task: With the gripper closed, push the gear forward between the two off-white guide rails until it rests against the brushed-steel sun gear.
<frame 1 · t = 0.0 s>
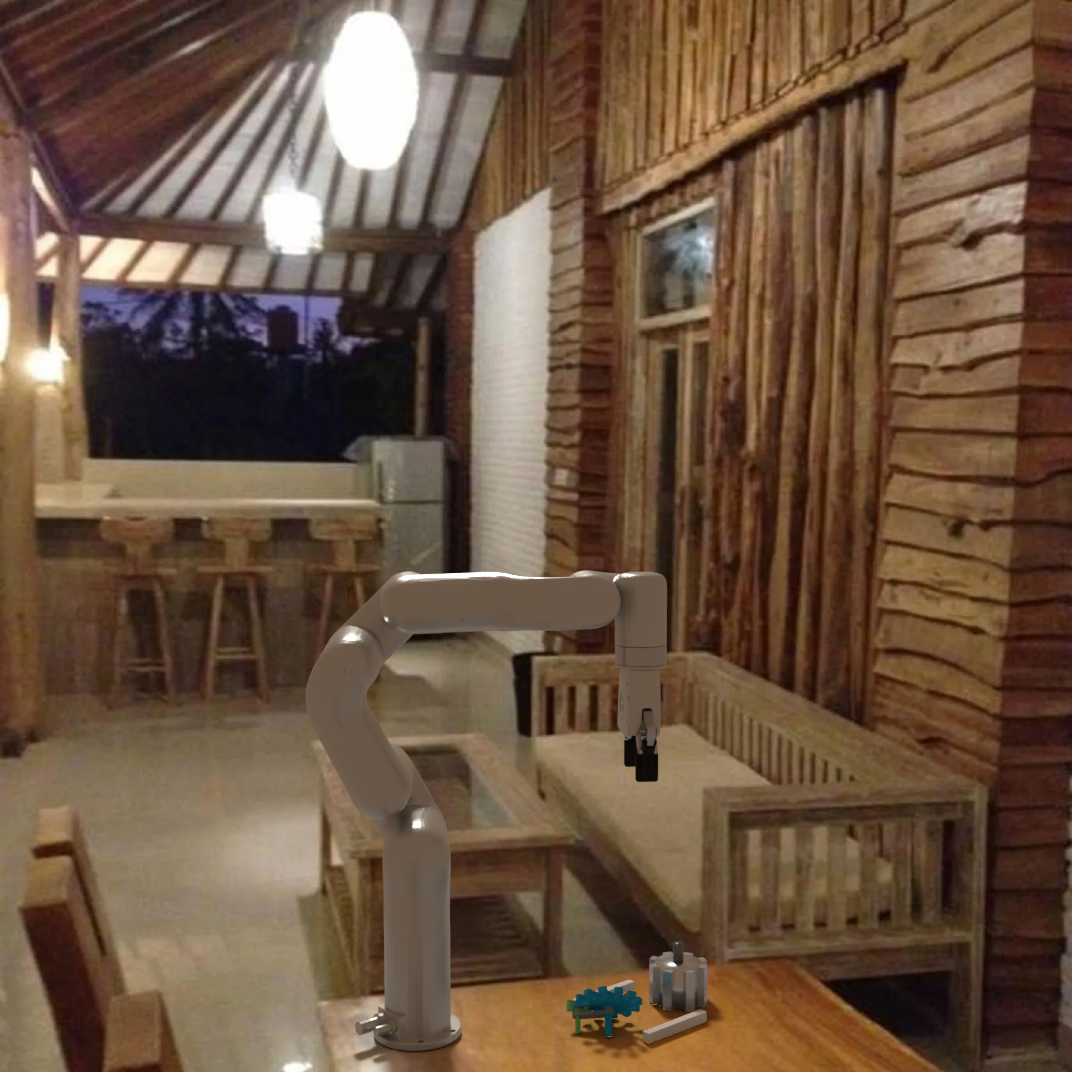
hand: (640, 773, 193), 37 cm above the table, tool pointing down, fingers open, 9 cm apart
gear: (604, 1029, 194), on the table
guide rails: (638, 1015, 198), on the table
sun gear: (678, 1000, 204), on the table
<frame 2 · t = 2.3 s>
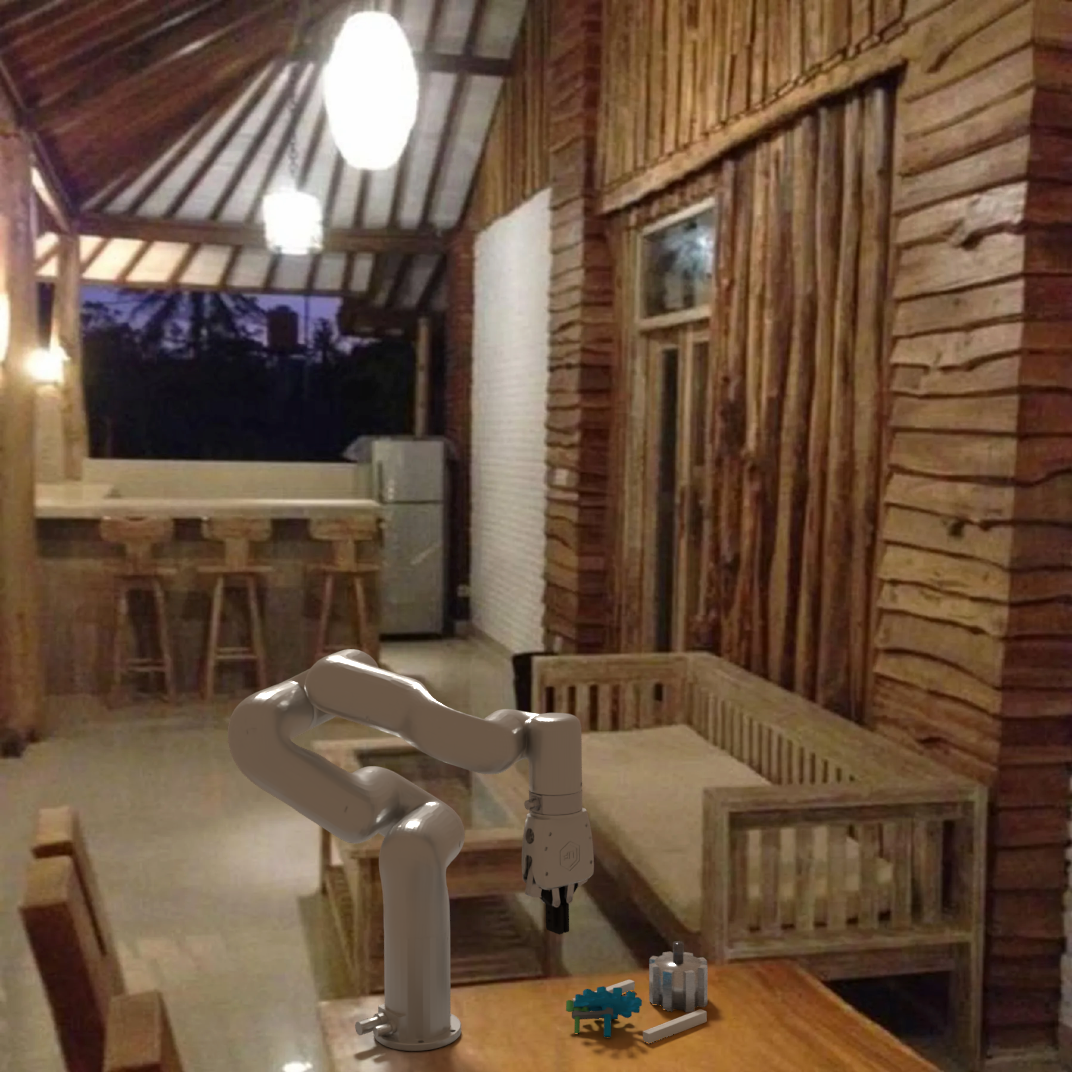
hand: (557, 930, 187), 17 cm above the table, tool pointing down, fingers closed
nothing on the table moved.
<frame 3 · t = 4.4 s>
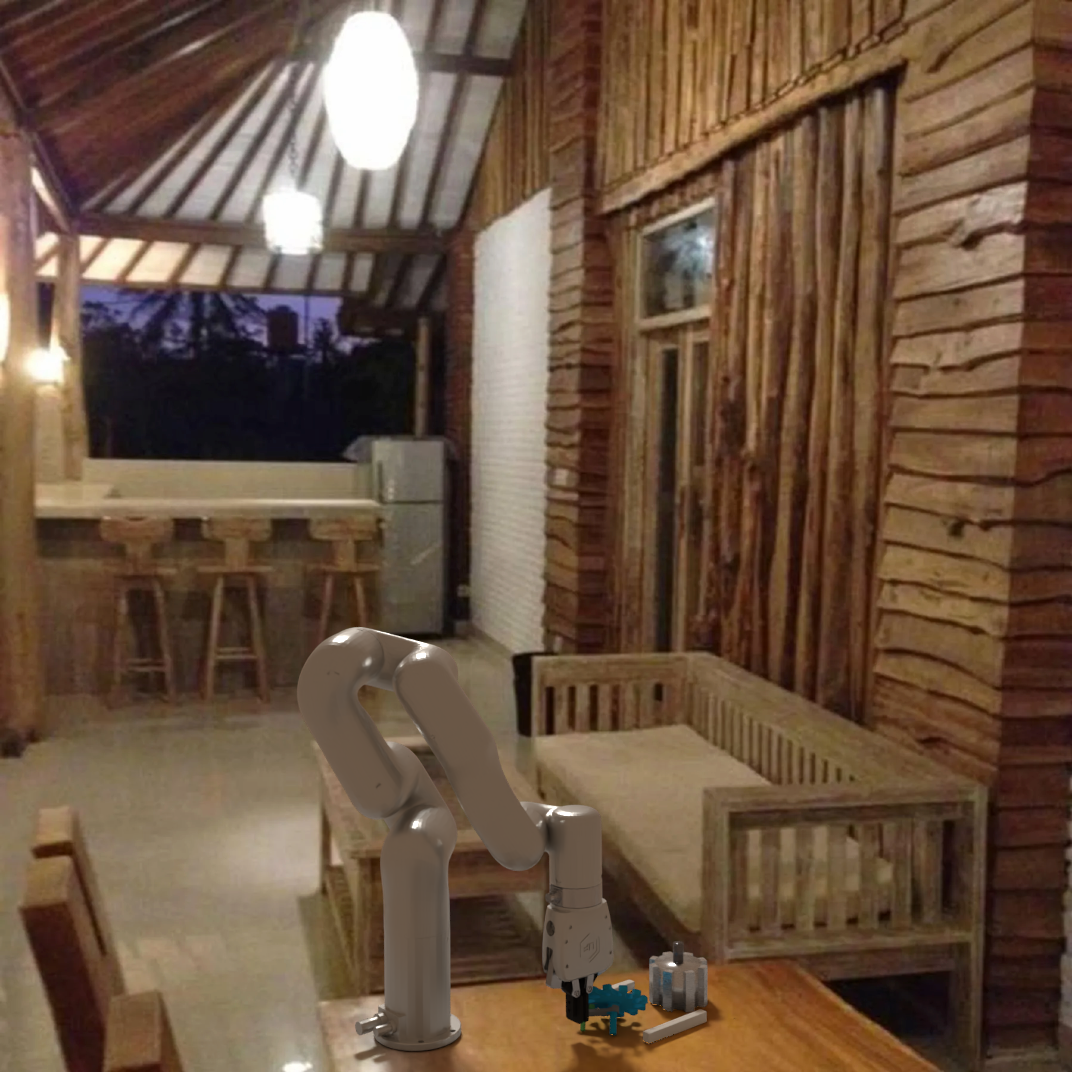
hand: (577, 1019, 190), 3 cm above the table, tool pointing down, fingers closed
gear: (609, 1027, 194), on the table, touching gripper
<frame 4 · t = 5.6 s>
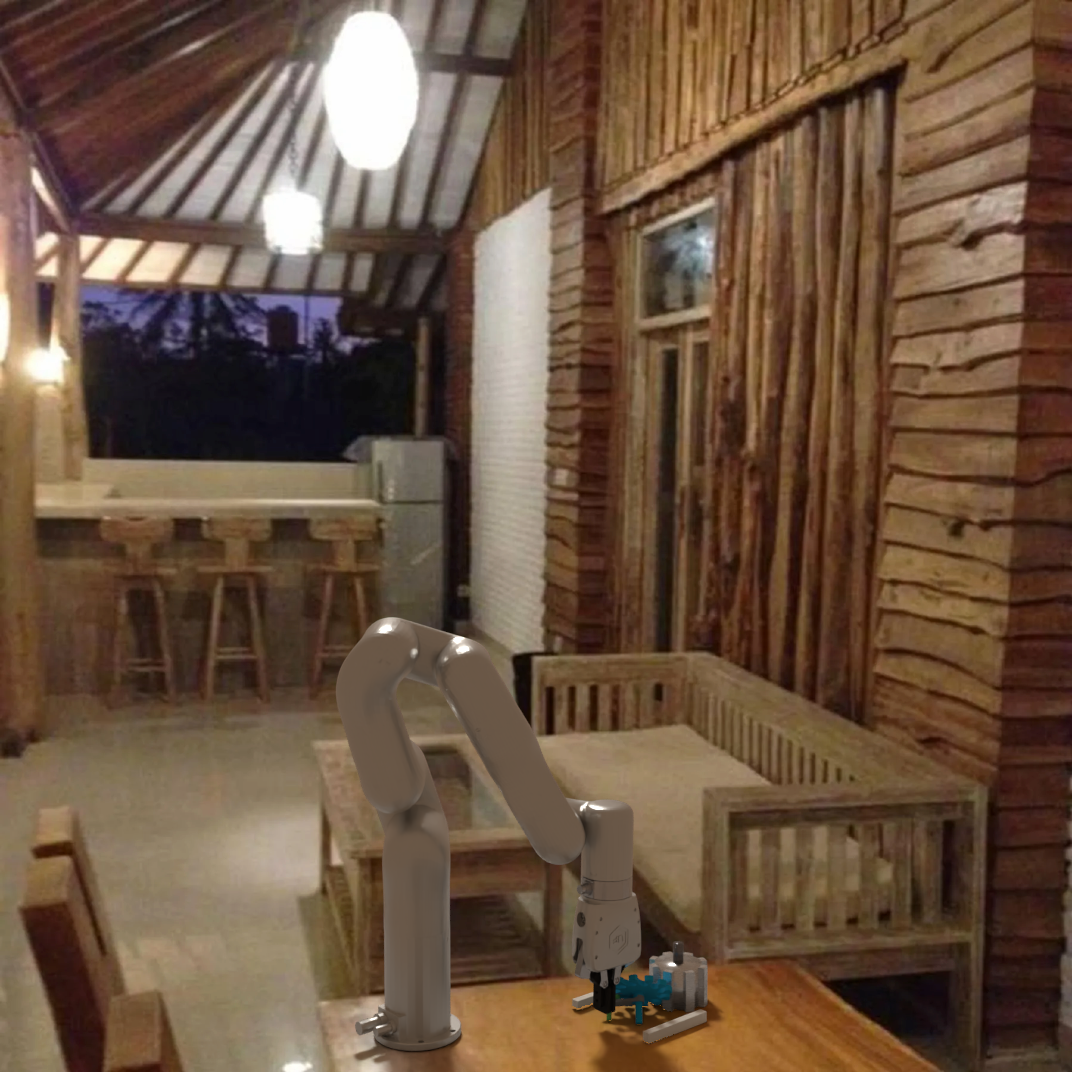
hand: (604, 1009, 194), 3 cm above the table, tool pointing down, fingers closed
gear: (634, 1017, 198), on the table, touching gripper, sun gear
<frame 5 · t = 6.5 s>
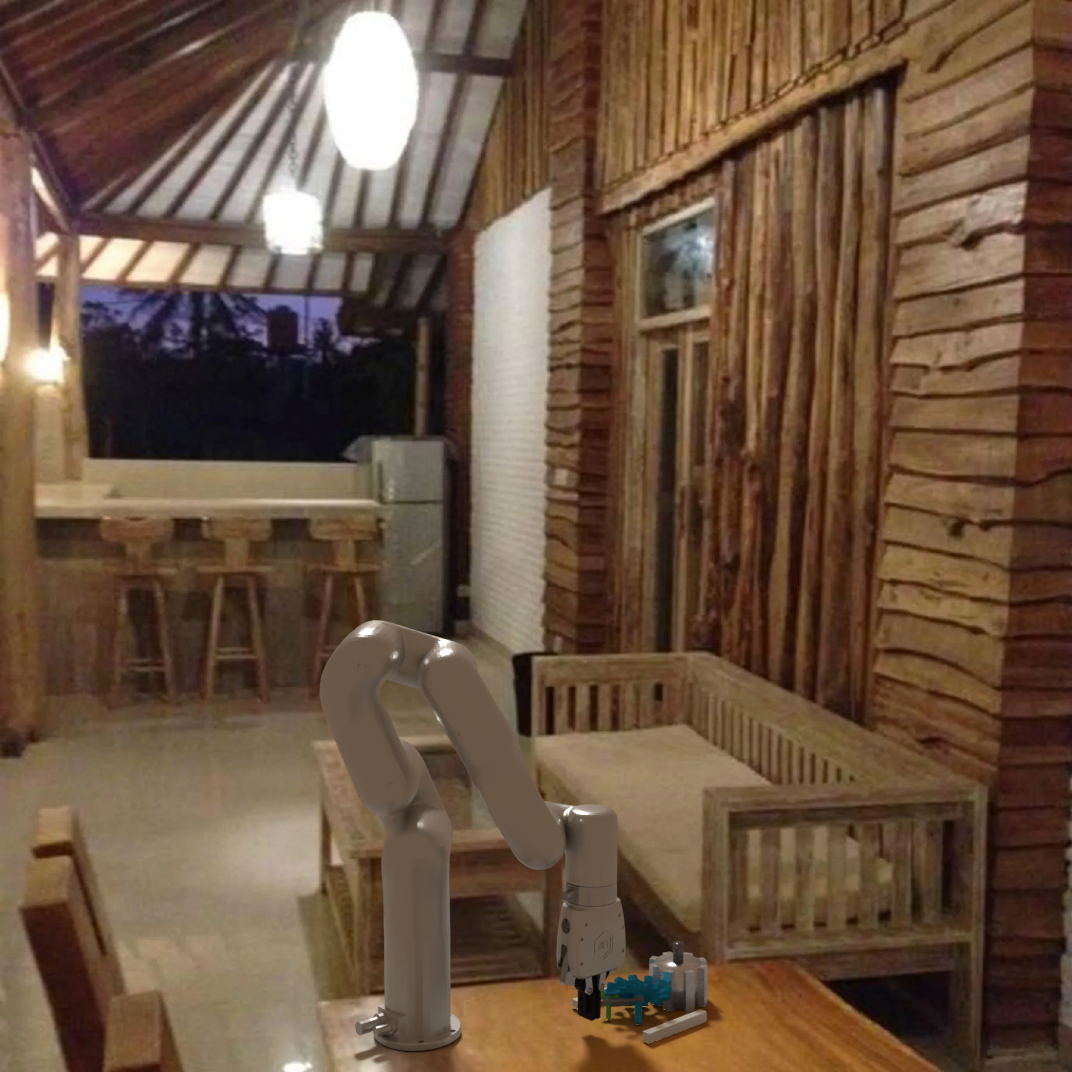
hand: (588, 1016, 192), 2 cm above the table, tool pointing down, fingers closed
gear: (634, 1017, 198), on the table
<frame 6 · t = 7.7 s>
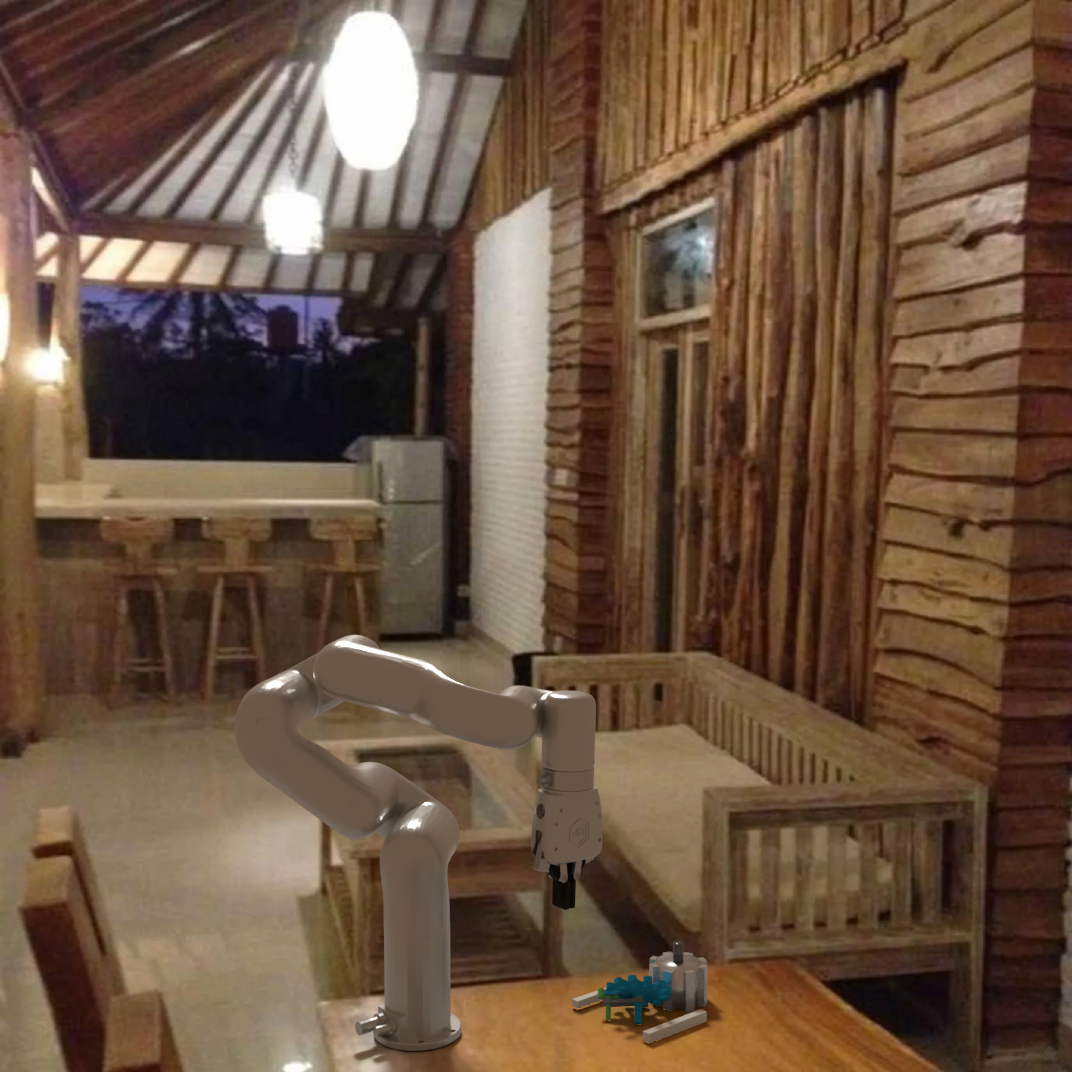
hand: (563, 906, 189), 20 cm above the table, tool pointing down, fingers closed
nothing on the table moved.
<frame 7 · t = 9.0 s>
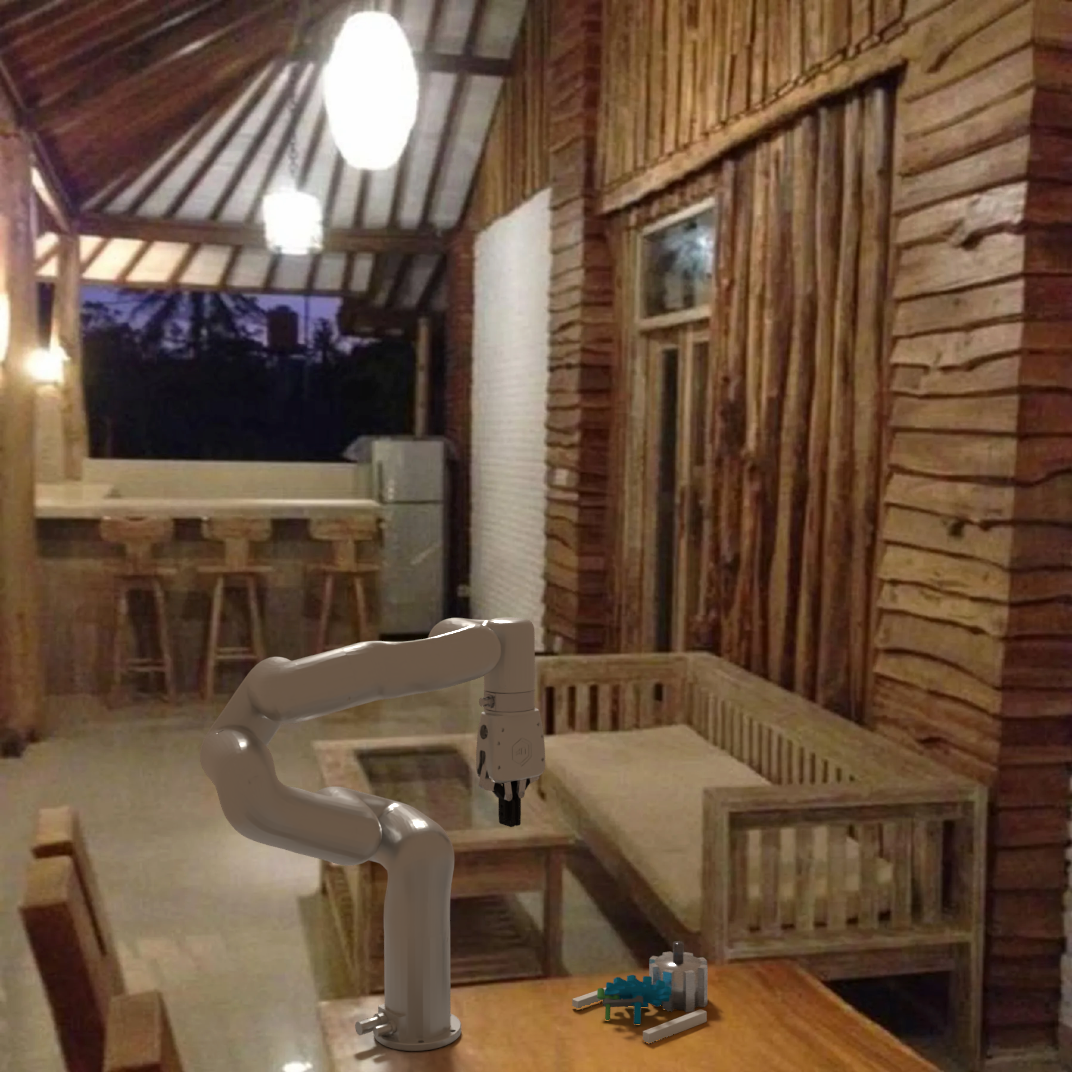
hand: (509, 824, 196), 29 cm above the table, tool pointing down, fingers closed
nothing on the table moved.
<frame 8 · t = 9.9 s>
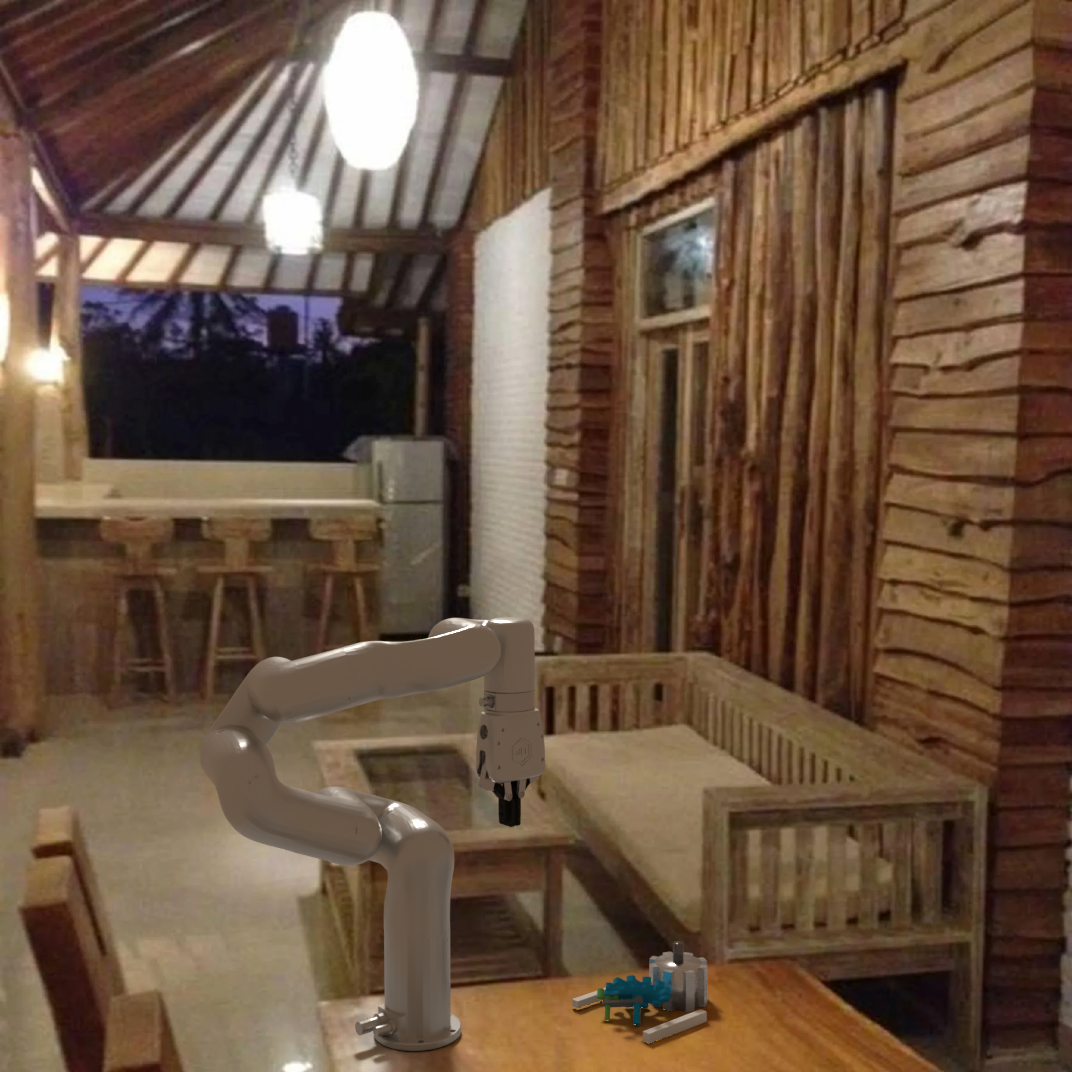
hand: (509, 824, 196), 29 cm above the table, tool pointing down, fingers closed
nothing on the table moved.
at the end: gear 0.9 cm from the target spot, on the table; gear tilted 0°; gear moved 6.1 cm from its start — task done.
